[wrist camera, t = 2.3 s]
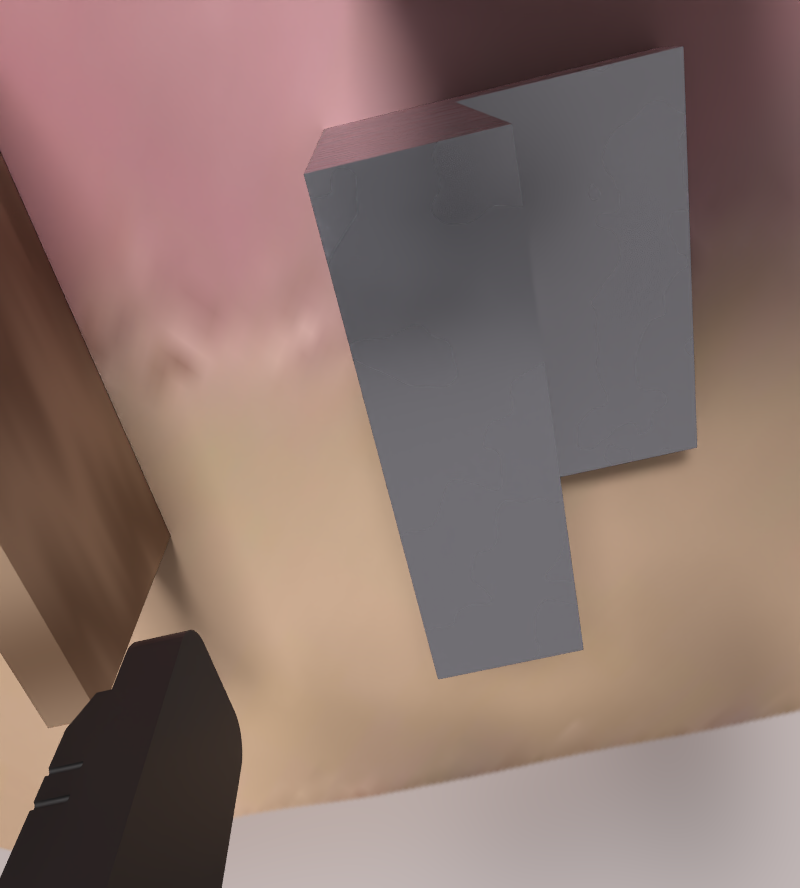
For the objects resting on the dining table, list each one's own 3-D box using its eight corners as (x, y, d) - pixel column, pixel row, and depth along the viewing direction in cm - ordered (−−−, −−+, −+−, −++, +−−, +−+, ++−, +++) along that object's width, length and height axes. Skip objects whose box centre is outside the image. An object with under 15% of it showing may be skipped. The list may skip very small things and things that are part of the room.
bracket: (323, 129, 18) (303, 174, 10) (657, 47, 17) (873, 36, 10) (410, 481, 22) (438, 679, 15) (676, 423, 22) (832, 599, 15)
